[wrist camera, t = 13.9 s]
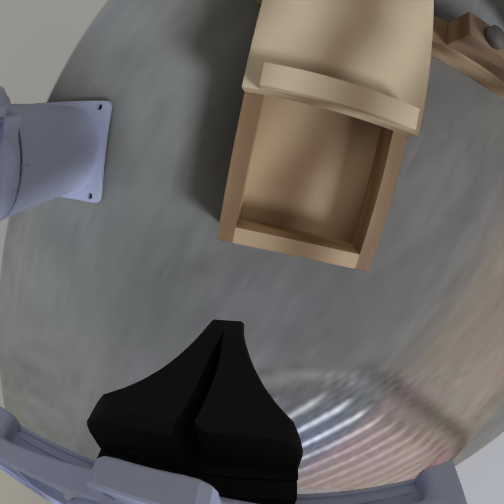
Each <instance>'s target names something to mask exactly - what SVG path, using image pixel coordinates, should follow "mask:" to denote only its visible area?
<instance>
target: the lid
mask: <svg viewBox="0 0 504 504" xmlns="http://www.w3.org/2000/svg"><path fill="white" fill-rule="evenodd" d="M433 14H434V0H262V4H261V8H260V11H259V15H258V19H257V23H256V27H255V32H254V36H253V40H252V44H251V48H250V53H249V57H248V61H247V66H246V70H245V74H244V79H243V83H242V88H243V90H244V91H245V92H250V93H256V94H262V95H267V96H272V97H277V98H282V99H287V100H291V101H296V102H300V103H304V104H308V105H312V106H316V107H320V108H324V109H328V110H331V111H335V112H338V113H342V114H345V115H349V116H352V117H355V118H358V119H361V120H364V121H367V122H370V123H373V124H376V125H379V126H382V127H385V128H388V129H390V130H393V131H396V132H398V133H401V134H404V135H406V136H419V133H420V128H421V123H422V117H423V112H424V106H425V99H426V93H427V86H428V78H429V70H430V60H431V50H432V36H433Z"/></svg>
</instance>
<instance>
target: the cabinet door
mask: <svg viewBox="0 0 504 504" xmlns="http://www.w3.org/2000/svg"><path fill="white" fill-rule="evenodd" d="M447 45H448V46H450V47H451V48H453V49H455V50H457V51H458V52H460V53H462V54H463V55H465V56H467V57H468V58H470V59H471V60H473V61H474V62H476V63H478V64H479V65H481V66H482V67H484V68H485V69H487V70H488V71H489V72H491V73H492V74H494V75H495V76H496V77H498V78H499V79H501V80H502V81H503V82H504V32H503V31H502V30H501V29H500V28H499V27H498V26H496V25H492V26H489V25H488V24H487V23H485V22H484V21H482V20H481V19H479V18H478V17H476V16H475V15H473V14H472V13H470V12H468V13H466V14H464V15H463V16H461V17H459V18H457V19H455V20H453V21H452V22H450V23H448V31H447Z"/></svg>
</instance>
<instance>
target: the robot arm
mask: <svg viewBox="0 0 504 504" xmlns="http://www.w3.org/2000/svg"><path fill="white" fill-rule="evenodd" d="M100 105H102V109H101V110H100V109H99V107H100ZM111 112H112V103H111V102H110V101H66V102H49V103H37V104H10V99H9V97H8V96H7V95H6V92H5V90H4V89H3V88H2V87H1V86H0V221H1V220H3V219H5V218H7V217H10V216H12V215H14V214H17V213H19V212H21V211H24V210H26V209H29V208H31V207H34V206H36V205H39V204H41V203H44V202H47V201H49V200H52V199H55V198H57V197H65V198H70V199H76V200H81V201H87V202H92V203H97V202H99V201H101V199H102V188H103V175H104V164H105V155H106V146H107V138H108V131H109V124H110V118H111ZM90 193H91V194H92V198H91V197H90ZM87 426H88V428H89V431H90V433H91V434H92V436H93V437H94V439H95V441H96V442H97V444H98V445H99V447H100V448H101V451H100V453H99V455H98V457H97V459H96V460H93V459H90V458H88V457H85V456H83V455H80V454H78V453H75V452H73V451H71V450H68V449H66V448H64V447H62V446H59V445H57V444H55V443H53V442H51V441H49V440H47V439H45V438H43V437H41V436H39V435H37V434H35V433H33V432H31V431H29V430H28V429H26V428H24V427H22V426H21V425H20V423H19V421H18V420H17V419H16V418H15V416H14V415H13V414H11V413H10V412H8V411H7V410H5V409H3V408H2V407H0V468H1V469H2V470H3V471H4V472H6V473H7V474H9V475H10V476H11V477H13V478H14V479H16V480H17V481H19V482H20V483H22V484H23V485H25V486H26V487H27V488H29V489H30V490H32V491H33V492H35V493H37V494H38V495H40V496H41V497H43V498H45V499H46V500H48V501H49V502H51V503H53V504H467V502H466V499H465V496H464V492H463V489H462V486H461V483H460V480H459V477H458V474H457V472H456V469H455V466H454V463H453V461H449V462H445V463H442V464H439V465H435V466H432V467H429V468H426V469H425V470H423V471H422V472H420V473H419V474H418V476H417V477H416V478H415V479H411V480H407V481H403V482H398V483H393V484H388V485H383V486H378V487H372V488H365V489H358V490H350V491H341V492H330V493H315V494H297V480H298V467H299V464H300V461H301V459H302V455H303V449H302V444H301V440H300V437H299V434H298V432H297V429H296V427H295V424H294V422H293V421H292V420H291V419H290V418H289V417H288V416H287V415H286V414H285V413H284V412H283V411H282V410H281V408H280V407H279V406H278V405H277V404H276V402H275V401H274V400H273V398H272V397H271V396H270V394H269V393H268V391H267V390H266V389H265V387H264V385H263V384H262V382H261V380H260V378H259V377H258V375H257V373H256V371H255V369H254V366H253V364H252V361H251V359H250V356H249V353H248V350H247V347H246V343H245V338H244V324H243V323H242V322H240V321H225V320H213V321H211V323H210V324H209V325H208V326H207V327H206V329H205V330H204V331H203V332H202V333H201V334H200V335H199V337H198V338H197V339H196V340H195V341H194V342H193V343H192V344H191V345H190V346H189V347H188V348H187V349H186V350H184V351H183V352H182V353H181V354H180V355H179V356H178V357H177V358H175V359H174V360H173V361H172V362H170V363H169V364H168V365H166V366H165V367H163V368H162V369H160V370H159V371H157V372H155V373H154V374H152V375H150V376H149V377H147V378H145V379H143V380H141V381H139V382H137V383H135V384H132V385H130V386H128V387H125V388H122V389H119V390H116V391H113V392H110V393H107V394H103V396H102V397H101V398H100V400H99V401H98V403H97V404H96V406H95V408H94V410H93V411H92V413H91V415H90V417H89V419H88V420H87Z"/></svg>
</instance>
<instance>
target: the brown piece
mask: <svg viewBox="0 0 504 504" xmlns="http://www.w3.org/2000/svg"><path fill="white" fill-rule="evenodd" d="M256 3H259V4H262V0H256ZM447 31H448V22H446V21H444V20H443V19H441V18H439V17H437V16H435V15H433V36H432V50H431V56H432V57H434V58H436V59H438V60H440V61H442V62H444V63H446V64H448V65H449V66H451V67H453V68H455V69H456V70H458V71H460V72H462V73H463V74H465V75H467V76H468V77H470V78H472V79H473V80H475V81H476V82H478V83H479V84H481V85H483V86H484V87H486V88H487V89H489V90H490V91H491V92H493V93H494V94H496V95H497V96H499V97H500V98H501V99H503V100H504V82H503V81H502V80H501V79H499V78H498V77H496V76H495V75H494V74H492V73H491V72H489V71H488V70H487V69H485V68H484V67H482V66H481V65H479V64H478V63H476V62H474V61H473V60H471V59H470V58H468V57H467V56H465V55H463V54H462V53H460V52H458V51H457V50H455V49H453V48H451V47H450V46H448V45H447ZM406 140H407V136H406V135H404V134H401V133H398V132H396V131H393V130H390V129H388V128H385V127H382V126H379V125H376V124H373V123H370V122H367V121H364V120H361V119H358V118H355V117H352V116H349V115H345V114H342V113H338V112H335V111H331V110H328V109H324V108H320V107H316V106H312V105H308V104H304V103H300V102H296V101H291V100H287V99H282V98H277V97H272V96H267V95H262V94H256V93H250V92H245V93H244V97H243V102H242V107H241V112H240V117H239V121H238V126H237V131H236V136H235V141H234V146H233V152H232V157H231V162H230V167H229V173H228V178H227V183H226V189H225V195H224V200H223V206H222V212H221V217H220V223H219V229H218V235H217V240H222V241H227V242H232V243H237V244H241V245H246V246H251V247H256V248H260V249H265V250H270V251H274V252H279V253H284V254H289V255H293V256H298V257H303V258H307V259H312V260H317V261H321V262H326V263H331V264H335V265H340V266H345V267H349V268H354V269H359V270H363V271H369V269H370V266H371V263H372V260H373V257H374V254H375V252H376V249H377V246H378V243H379V240H380V237H381V233H382V230H383V227H384V224H385V221H386V217H387V214H388V211H389V207H390V204H391V200H392V197H393V193H394V189H395V186H396V182H397V178H398V174H399V170H400V166H401V162H402V158H403V154H404V149H405V145H406Z"/></svg>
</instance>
